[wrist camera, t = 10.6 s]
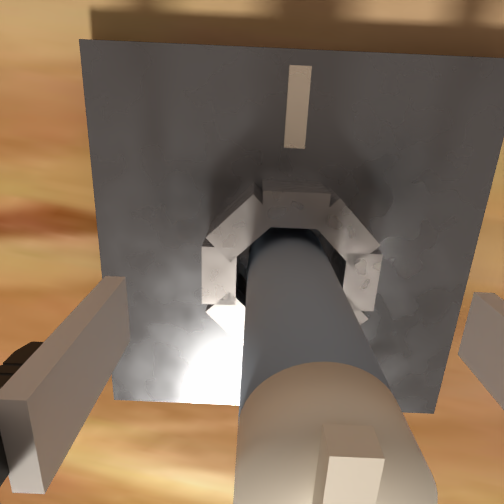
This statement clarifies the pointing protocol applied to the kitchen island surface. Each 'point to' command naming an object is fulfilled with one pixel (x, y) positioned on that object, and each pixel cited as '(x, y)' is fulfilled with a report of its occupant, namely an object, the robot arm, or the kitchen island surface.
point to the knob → (316, 391)
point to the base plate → (286, 197)
